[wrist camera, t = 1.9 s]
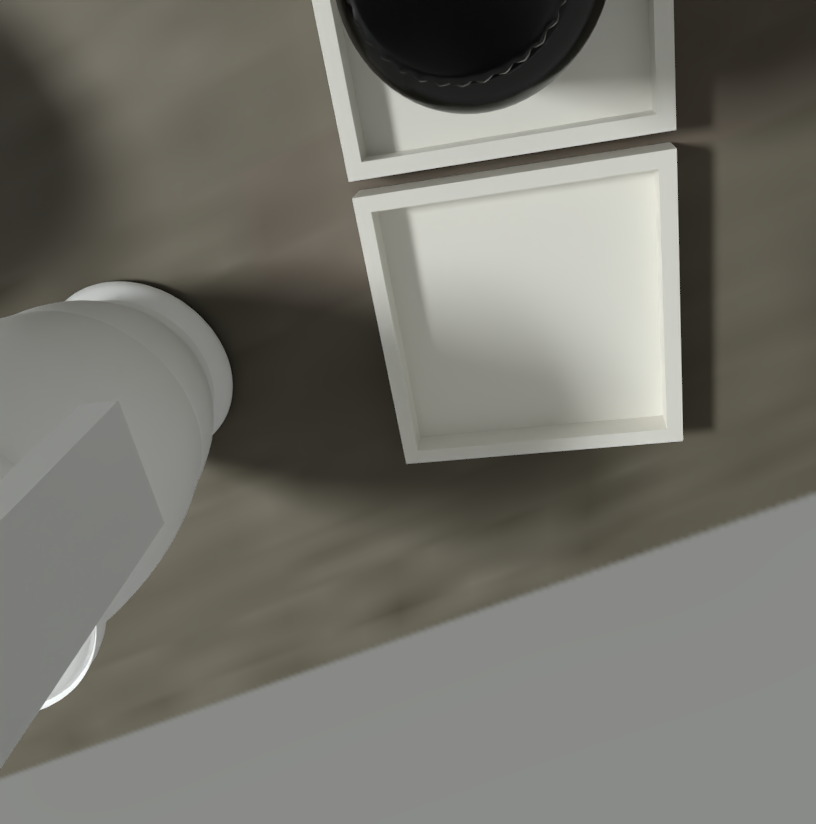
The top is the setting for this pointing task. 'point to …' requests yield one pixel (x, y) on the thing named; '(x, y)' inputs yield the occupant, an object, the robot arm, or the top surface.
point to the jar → (118, 399)
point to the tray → (530, 305)
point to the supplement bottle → (469, 47)
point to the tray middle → (518, 124)
